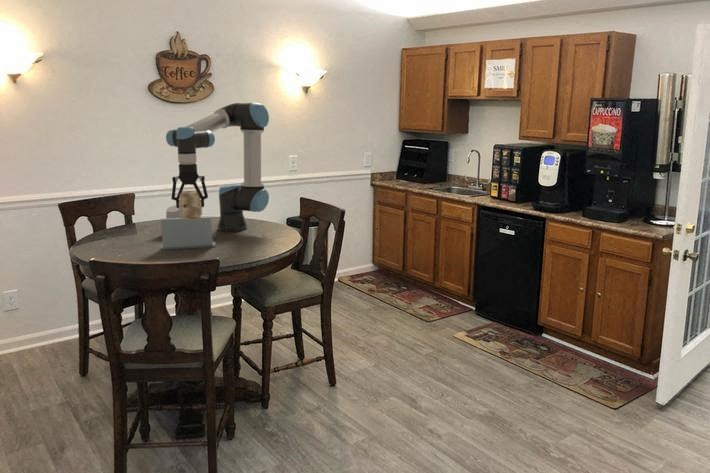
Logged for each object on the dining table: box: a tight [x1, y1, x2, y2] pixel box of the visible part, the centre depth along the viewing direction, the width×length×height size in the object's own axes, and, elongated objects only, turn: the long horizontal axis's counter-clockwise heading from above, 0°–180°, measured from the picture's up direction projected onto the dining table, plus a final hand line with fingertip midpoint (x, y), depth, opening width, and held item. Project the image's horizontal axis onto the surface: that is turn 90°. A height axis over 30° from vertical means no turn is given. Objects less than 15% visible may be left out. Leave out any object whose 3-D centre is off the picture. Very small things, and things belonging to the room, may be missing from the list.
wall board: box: [160, 216, 216, 251], centre depth 270 cm, size 24×6×14 cm, turn 102°
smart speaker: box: [165, 204, 181, 219], centre depth 296 cm, size 10×9×14 cm
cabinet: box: [179, 190, 202, 219], centre depth 259 cm, size 8×11×11 cm
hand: (191, 214), depth 258 cm, fingers closed on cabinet, 8 cm apart
